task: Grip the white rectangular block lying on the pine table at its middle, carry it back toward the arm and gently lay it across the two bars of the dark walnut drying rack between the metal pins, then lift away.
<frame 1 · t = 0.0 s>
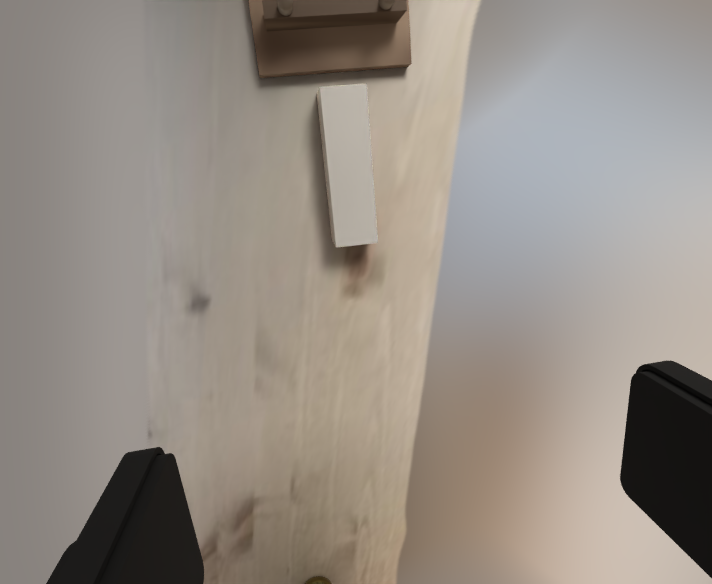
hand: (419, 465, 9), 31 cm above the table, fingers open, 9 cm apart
white rectangular block: (344, 168, 37), on the table
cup: (317, 583, 50), on the table
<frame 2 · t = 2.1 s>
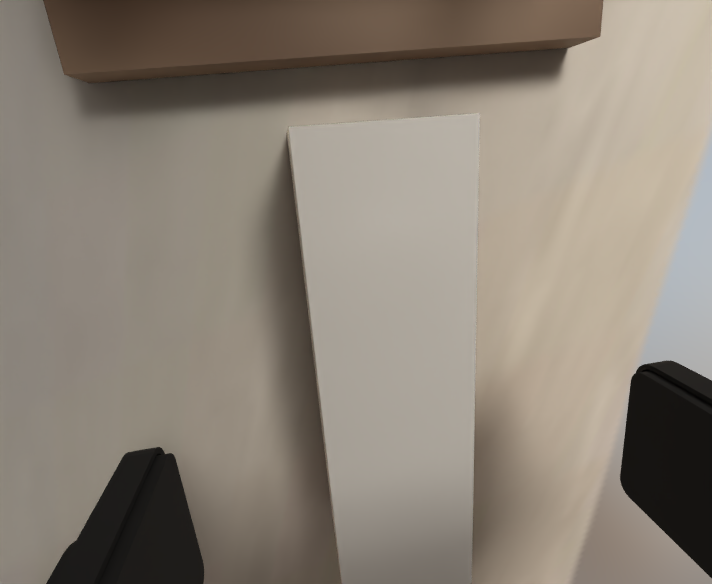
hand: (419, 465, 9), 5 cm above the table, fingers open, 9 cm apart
white rectangular block: (367, 335, 13), on the table
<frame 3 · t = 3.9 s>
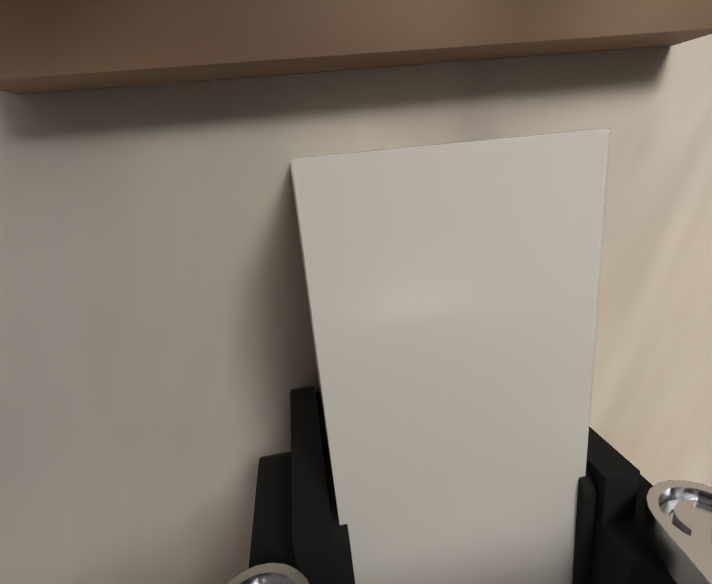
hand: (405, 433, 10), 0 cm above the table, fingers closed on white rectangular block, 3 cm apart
white rectangular block: (400, 423, 10), on the table, touching gripper
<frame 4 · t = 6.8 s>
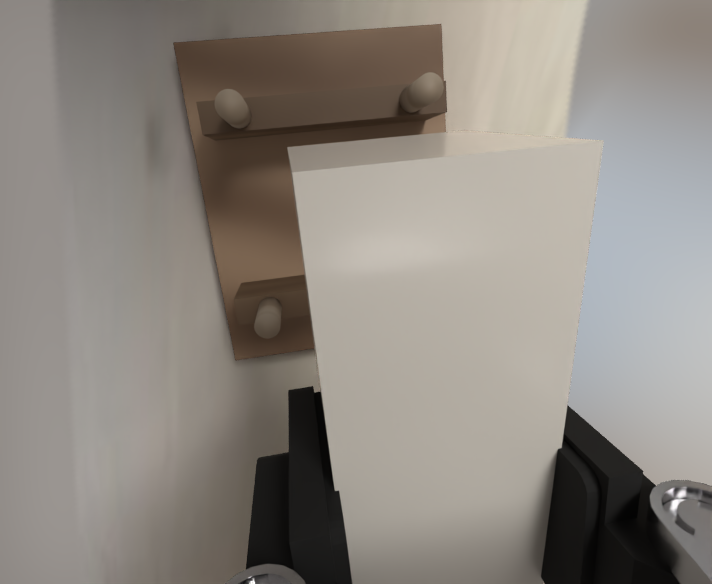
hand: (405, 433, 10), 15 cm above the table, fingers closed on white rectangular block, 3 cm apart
walnut rack: (329, 201, 22), on the table
white rectangular block: (392, 395, 11), point 13 cm above the table, tilted 7°, touching gripper
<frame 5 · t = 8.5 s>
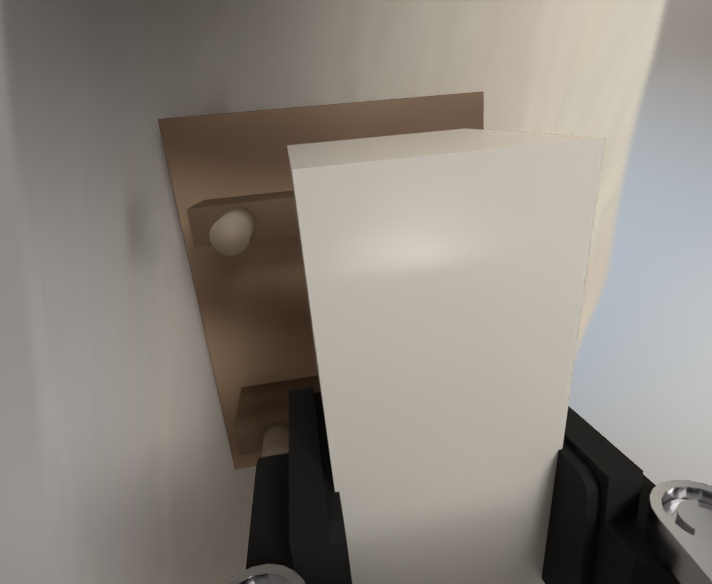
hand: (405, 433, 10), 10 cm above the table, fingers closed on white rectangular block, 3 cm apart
walnut rack: (344, 289, 19), on the table
white rectangular block: (392, 394, 11), point 9 cm above the table, touching gripper
when the fingers open (6 cm above the table, at t = 10.1 s): white rectangular block stays where it is, resting on walnut rack.
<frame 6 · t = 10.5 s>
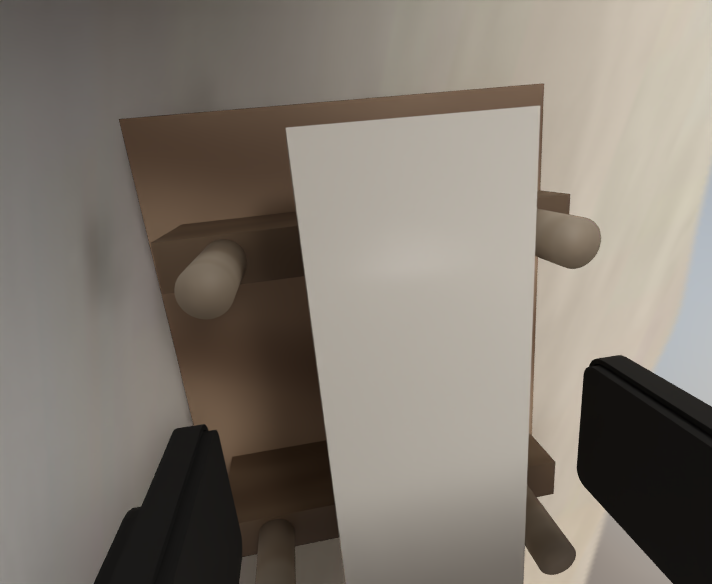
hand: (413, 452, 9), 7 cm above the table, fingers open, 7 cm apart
walnut rack: (361, 331, 15), on the table
white rectangular block: (384, 375, 11), point 4 cm above the table, touching walnut rack
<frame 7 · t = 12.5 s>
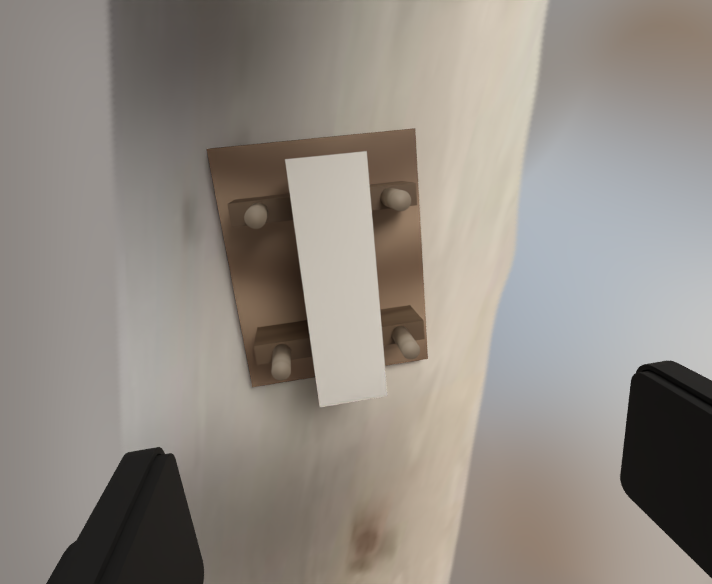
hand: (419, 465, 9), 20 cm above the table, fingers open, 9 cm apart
walnut rack: (327, 261, 28), on the table
white rectangular block: (332, 269, 24), point 4 cm above the table, touching walnut rack
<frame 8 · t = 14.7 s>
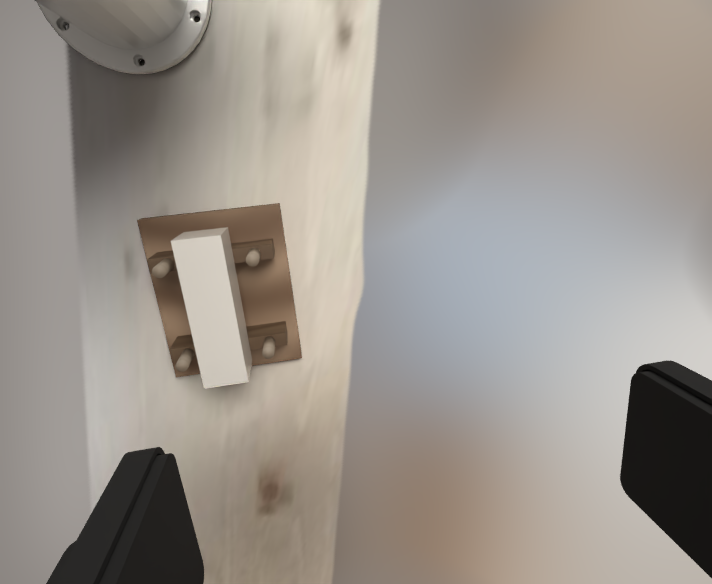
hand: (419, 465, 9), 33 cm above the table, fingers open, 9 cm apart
walnut rack: (227, 290, 41), on the table
white rectangular block: (219, 299, 36), point 4 cm above the table, touching walnut rack
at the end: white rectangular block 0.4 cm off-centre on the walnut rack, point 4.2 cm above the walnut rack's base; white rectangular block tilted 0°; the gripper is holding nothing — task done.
